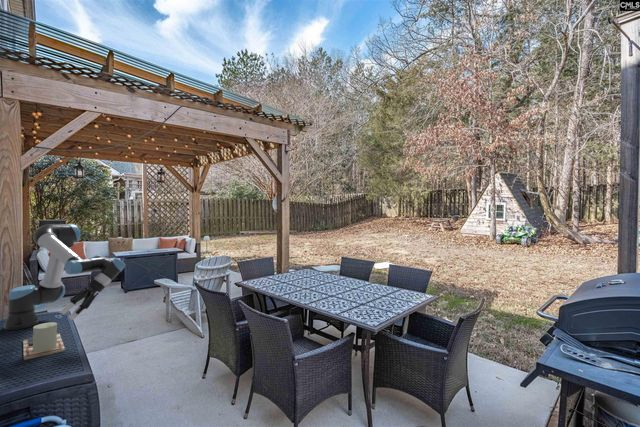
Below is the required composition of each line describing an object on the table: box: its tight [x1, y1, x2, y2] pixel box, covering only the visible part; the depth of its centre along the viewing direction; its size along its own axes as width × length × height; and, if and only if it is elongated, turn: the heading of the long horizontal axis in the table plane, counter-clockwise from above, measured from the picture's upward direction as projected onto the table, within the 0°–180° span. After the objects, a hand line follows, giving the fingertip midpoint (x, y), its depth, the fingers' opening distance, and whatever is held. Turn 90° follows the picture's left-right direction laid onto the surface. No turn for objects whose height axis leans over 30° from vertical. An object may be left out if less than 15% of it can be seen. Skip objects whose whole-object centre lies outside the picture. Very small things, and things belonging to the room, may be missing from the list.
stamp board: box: [22, 332, 66, 361], centre depth 163 cm, size 28×15×2 cm, turn 44°
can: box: [32, 321, 58, 352], centre depth 158 cm, size 9×9×12 cm
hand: (65, 316), depth 165 cm, fingers open, 13 cm apart
